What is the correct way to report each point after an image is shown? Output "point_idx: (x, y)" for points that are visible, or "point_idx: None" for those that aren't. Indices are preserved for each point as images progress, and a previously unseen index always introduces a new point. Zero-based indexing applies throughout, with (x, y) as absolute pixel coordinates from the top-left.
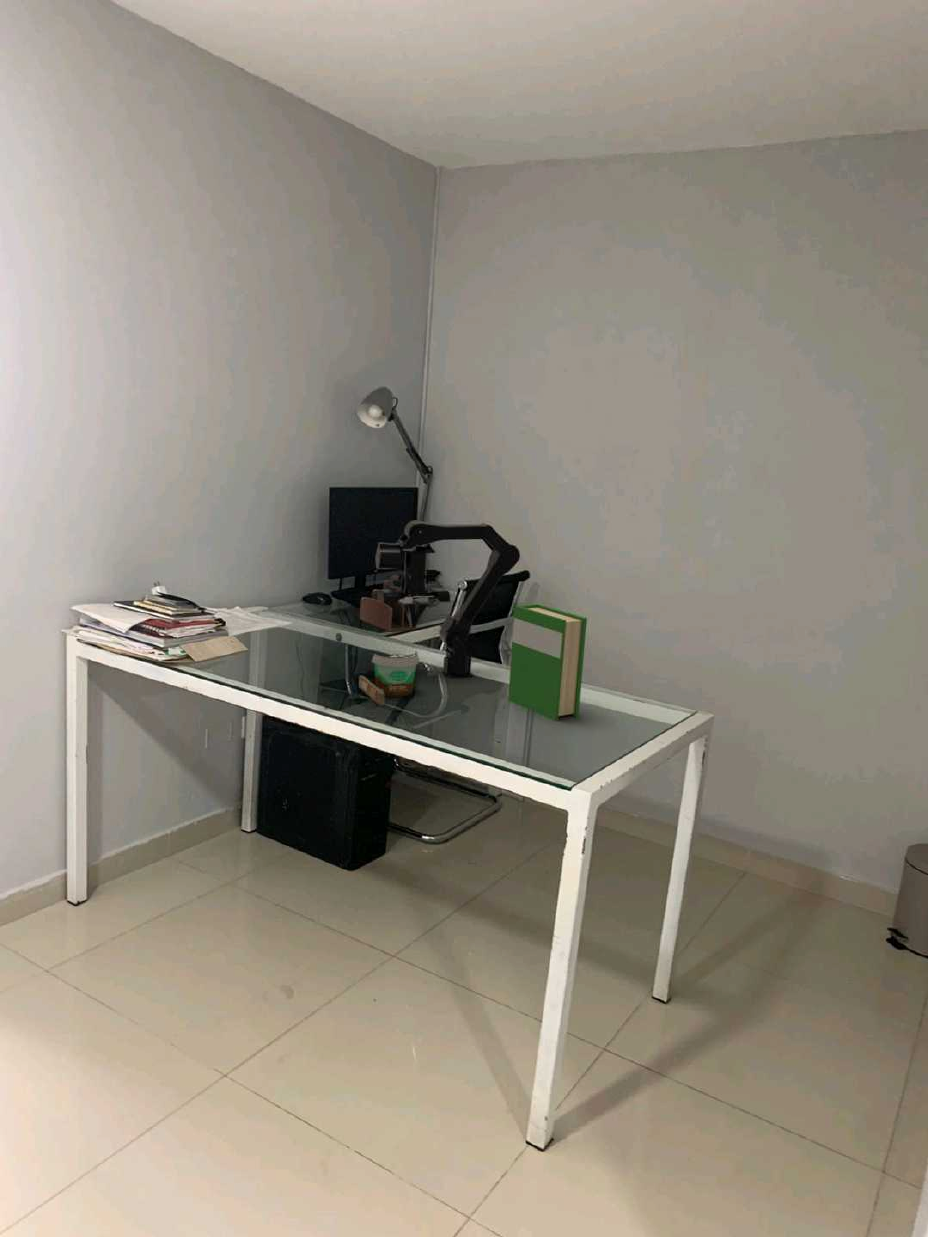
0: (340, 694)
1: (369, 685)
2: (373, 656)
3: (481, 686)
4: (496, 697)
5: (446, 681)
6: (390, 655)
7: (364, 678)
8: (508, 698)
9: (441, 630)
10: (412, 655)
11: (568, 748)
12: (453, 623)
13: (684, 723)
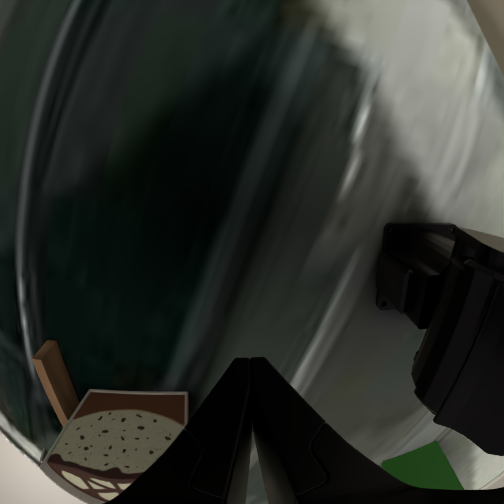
0: (16, 373)
1: (63, 425)
2: (41, 462)
3: (401, 387)
4: (374, 451)
5: (338, 339)
6: (91, 475)
7: (46, 384)
8: (383, 464)
9: (477, 298)
10: None
11: None
12: (485, 446)
13: (484, 487)
